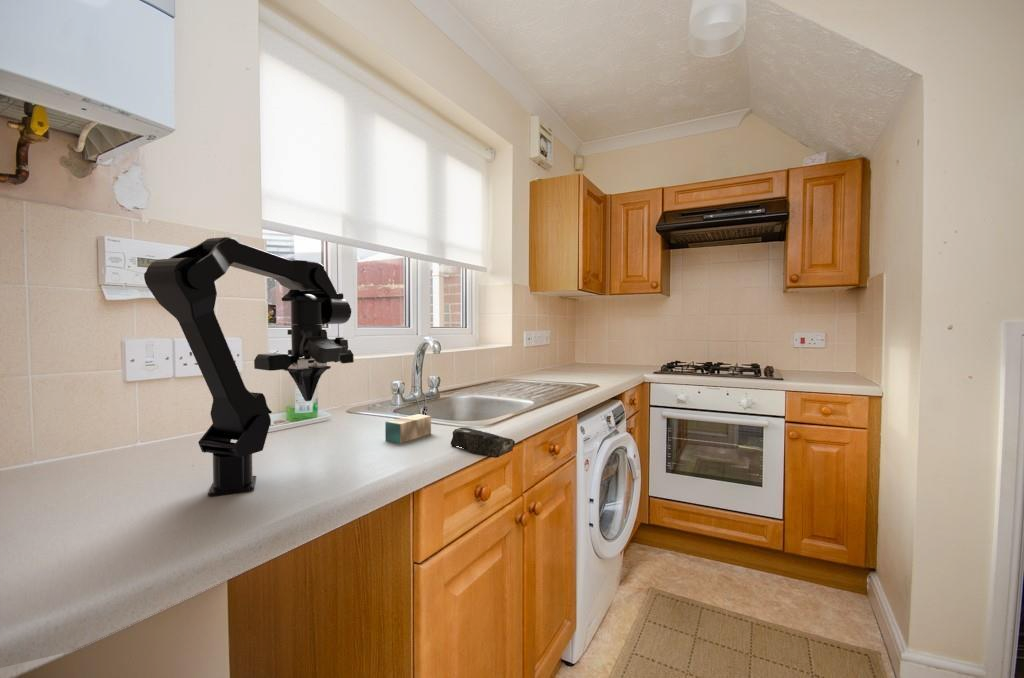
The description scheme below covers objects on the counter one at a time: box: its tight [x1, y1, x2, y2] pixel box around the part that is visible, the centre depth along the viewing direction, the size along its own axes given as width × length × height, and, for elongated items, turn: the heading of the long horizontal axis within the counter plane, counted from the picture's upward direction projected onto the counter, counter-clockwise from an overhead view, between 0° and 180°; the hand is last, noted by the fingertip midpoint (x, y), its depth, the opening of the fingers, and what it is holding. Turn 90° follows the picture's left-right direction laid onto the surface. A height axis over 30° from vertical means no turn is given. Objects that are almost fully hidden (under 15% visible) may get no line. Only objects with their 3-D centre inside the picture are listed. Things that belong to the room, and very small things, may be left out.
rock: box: [450, 427, 516, 459], centre depth 102 cm, size 8×16×4 cm, turn 60°
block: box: [384, 413, 432, 444], centre depth 112 cm, size 4×4×11 cm
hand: (308, 400), depth 93 cm, fingers closed
